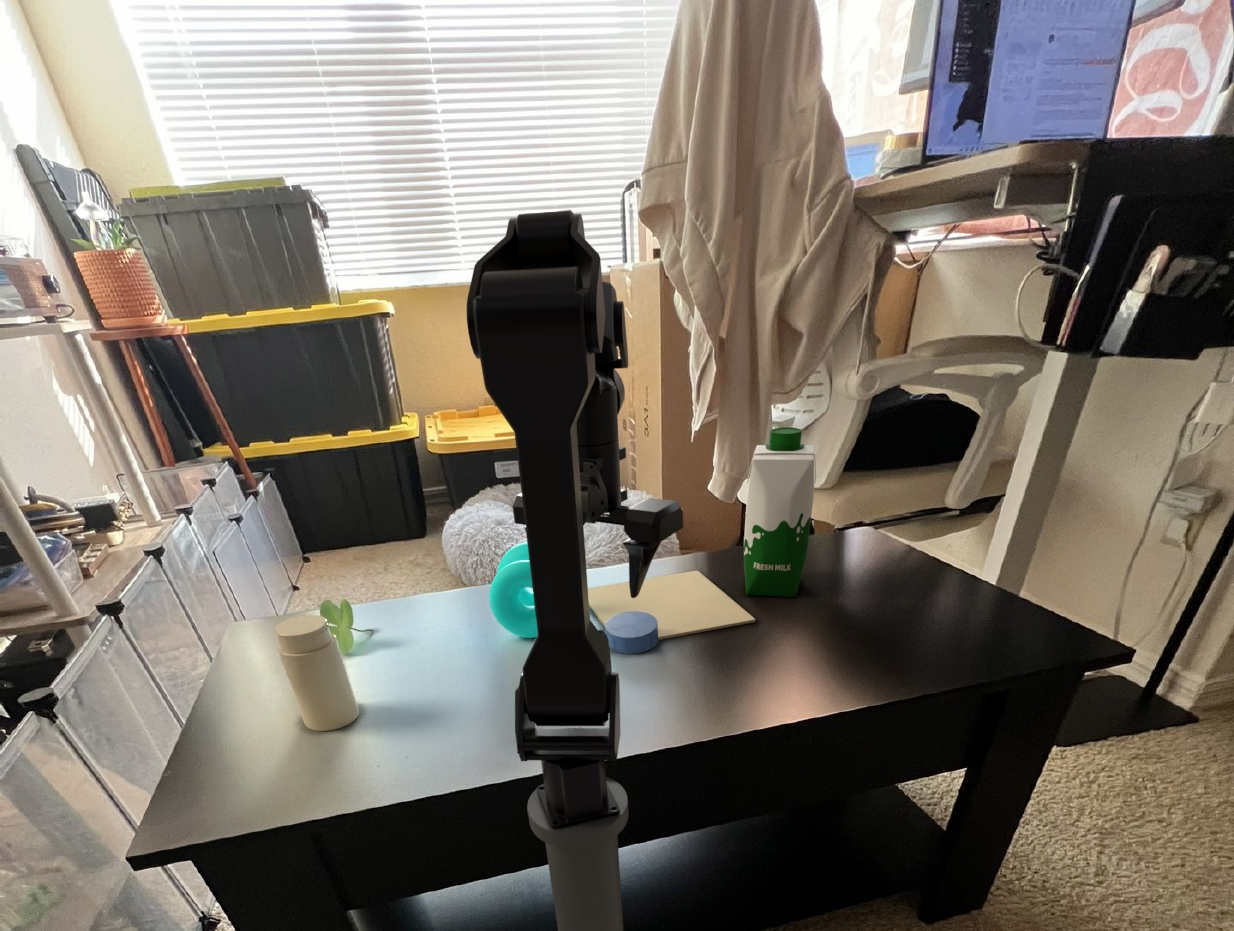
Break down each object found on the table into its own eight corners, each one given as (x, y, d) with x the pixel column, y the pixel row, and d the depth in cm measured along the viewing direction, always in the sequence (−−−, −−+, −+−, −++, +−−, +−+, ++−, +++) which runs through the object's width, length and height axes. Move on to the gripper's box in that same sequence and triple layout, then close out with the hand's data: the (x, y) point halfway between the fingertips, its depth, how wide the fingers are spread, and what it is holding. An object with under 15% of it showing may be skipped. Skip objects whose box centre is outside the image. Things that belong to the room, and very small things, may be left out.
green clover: (369, 673, 100) (330, 667, 95) (346, 625, 102) (307, 617, 96) (401, 643, 97) (364, 635, 91) (378, 594, 99) (339, 583, 93)
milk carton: (803, 576, 107) (820, 426, 95) (802, 600, 101) (820, 441, 88) (743, 575, 109) (753, 427, 97) (738, 598, 102) (748, 442, 90)
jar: (360, 724, 80) (330, 631, 73) (303, 735, 79) (268, 641, 72) (358, 699, 84) (330, 609, 77) (305, 709, 83) (271, 618, 76)
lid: (656, 625, 95) (655, 609, 93) (660, 651, 90) (659, 635, 89) (605, 629, 95) (604, 613, 93) (607, 656, 90) (605, 639, 89)
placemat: (755, 622, 96) (755, 619, 96) (619, 647, 92) (619, 644, 92) (697, 572, 111) (697, 570, 111) (578, 592, 107) (578, 590, 107)
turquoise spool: (574, 609, 102) (567, 537, 96) (570, 639, 94) (562, 563, 88) (504, 612, 102) (493, 540, 96) (494, 643, 95) (481, 567, 88)
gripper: (469, 451, 72) (493, 602, 82) (629, 465, 64) (634, 631, 74) (535, 429, 80) (550, 570, 89) (686, 440, 72) (684, 594, 81)
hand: (600, 590), depth 83 cm, fingers open, 9 cm apart
